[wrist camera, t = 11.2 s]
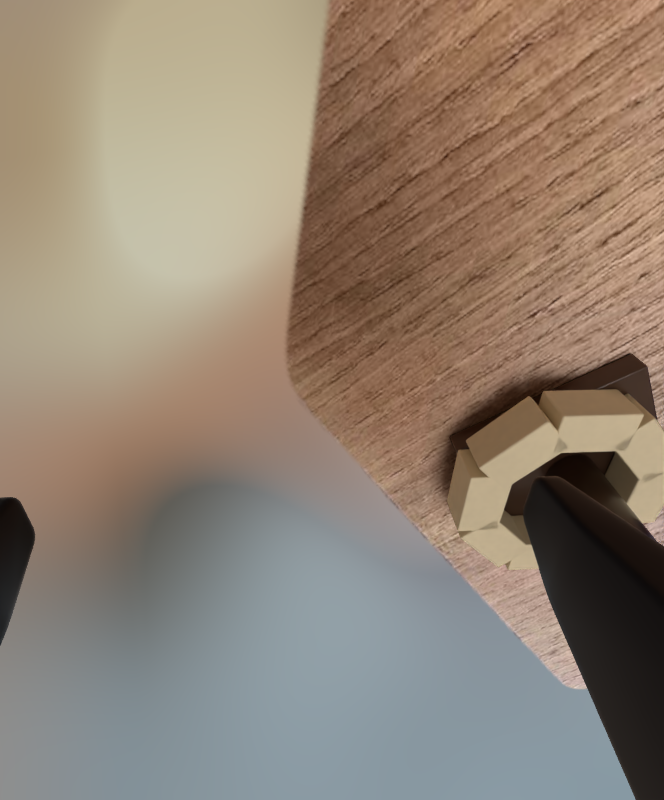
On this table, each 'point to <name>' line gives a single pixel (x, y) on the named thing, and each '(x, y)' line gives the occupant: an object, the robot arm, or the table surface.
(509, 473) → the ring
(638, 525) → the stand
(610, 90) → the table surface
